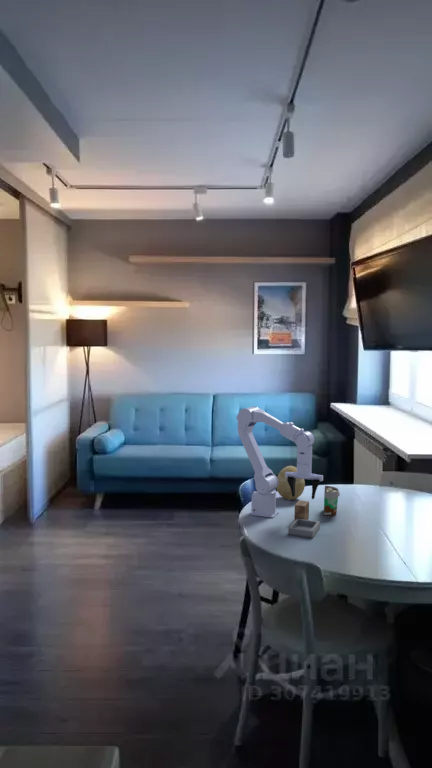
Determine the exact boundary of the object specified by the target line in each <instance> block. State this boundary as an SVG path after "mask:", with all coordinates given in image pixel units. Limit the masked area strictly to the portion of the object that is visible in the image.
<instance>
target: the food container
mask: <svg viewBox="0 0 432 768" xmlns="http://www.w3.org/2000/svg"><path fill="white" fill-rule="evenodd" d="M323 493H324V494H323V495H324V496H323V497H324V498H323V517H325V516H326V517H328V516H329V517H335V516H336V515H337V511H338V502H339V497H340V495H341V494H340V490H339V489H338V487H335V486H331V485H324V492H323ZM329 517H328V518H329Z"/></svg>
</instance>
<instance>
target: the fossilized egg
mask: <svg viewBox="0 0 432 768" xmlns="http://www.w3.org/2000/svg"><path fill="white" fill-rule="evenodd" d="M286 472H297V466H293V465H288V466H285V467H283V468H282V469H281V470H280V471H279V472H278V474H277V475H276V477H277V478H278V482H279V483H278V486H277V487H276V492H277V493H278V495H280V497H282V499H285V500H288V501H294V500H296V499H298V498H299V497H301V495H302V494H303V493H304V491H305V487H306V482H305V479H299V478H296V482H295V496H294V497H292V492H291V488H290V486H289V483H288V481H287V479H288V478H285V473H286Z"/></svg>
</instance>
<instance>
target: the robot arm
mask: <svg viewBox="0 0 432 768" xmlns="http://www.w3.org/2000/svg"><path fill="white" fill-rule="evenodd" d="M236 421H237V434H238V437H239V439H240V441H241V443H242V445H243V449H244V450H245V452H246V454H247V457H248V459H249V462H250V464H251V466H252V469H253V470H254V477H253V480H254V483H255V489H256V491H253V492H252V495H251V504H250V505H251V509H250V510H251V511H250V515H251V516H257V517H265V518H272V519H273V518H275V517H276V516H277V515H278V514H279V511H278V510H276V500H277V497H276V496H277V489H276V487H277V486H278V483H279V482H278V478H277V475H276V474H275V473H274V472H273V470H272V469H270V468H269V467H268V465H267V464H266V461H265V459H264V456H263V454H262V452H261V450H260V448H259V447H260V446H259V445H258V443H257V441H256V439H255V436H254V433H253V429H254V427H255V425H256V424H257V423H264V424H265V425H267V426H269V427H272V428H274V429H276V430H278V431H279V434H280V435H281V436H283V437H284V438H285V439H288V440H289V441H292V442H293V443H295V445H296V447H297V449H296V450H297V452H296V453H297V454H296V468H297V472H286V473H285V478H288V479H287V481H288V483H289V486H290V488H291V492H292V497H294V496H295V482H296V478H299V479H304V480H311V488H312V489H311V500H314V499H315V497H316V492H317V489H318V488H319V484H320V483H321V482H323V481H324V475H323V474H316V473H312V468H313V467H312V465H313V444H314V442H315V436H314V434H313V433H312V432H311V431H310V430H305V429H304V428H300V427H298V426H296V425H294V422H292V421H290V422H283V421H281V420H279V419H278V418H276V417H275V416H272V415H271V414H269V412H268V413H267V412H266V411H265V410H263V408H259V407H257V406H254V405H253V406H250V407H246V408H241V409H240V410H239V411H238V413H237V415H236Z"/></svg>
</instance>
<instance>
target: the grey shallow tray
mask: <svg viewBox="0 0 432 768" xmlns="http://www.w3.org/2000/svg"><path fill="white" fill-rule="evenodd" d="M320 528H321V521H319V520H311V519H308V520H304V519H296V520H295V521H293V522H292V523H291V524H290V525H289V527H288V529H287V530H288V531H287V535H289V536H294V537H302V538H308V539H314V537H315V535H316V534H317V533H318V532H319V530H320Z"/></svg>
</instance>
